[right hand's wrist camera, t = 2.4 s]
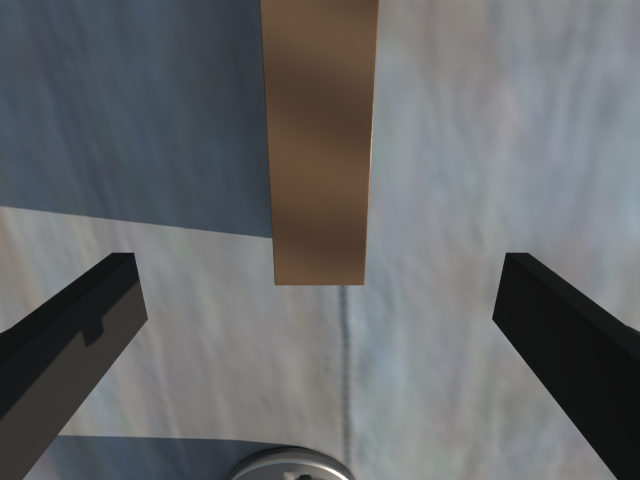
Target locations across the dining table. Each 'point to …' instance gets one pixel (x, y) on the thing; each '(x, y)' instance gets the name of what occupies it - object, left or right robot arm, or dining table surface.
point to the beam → (319, 135)
